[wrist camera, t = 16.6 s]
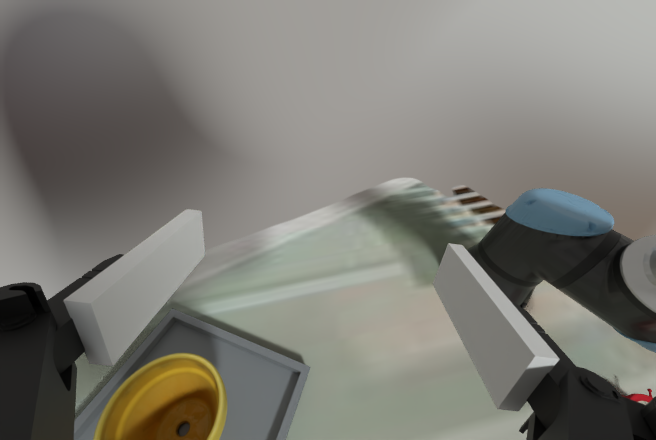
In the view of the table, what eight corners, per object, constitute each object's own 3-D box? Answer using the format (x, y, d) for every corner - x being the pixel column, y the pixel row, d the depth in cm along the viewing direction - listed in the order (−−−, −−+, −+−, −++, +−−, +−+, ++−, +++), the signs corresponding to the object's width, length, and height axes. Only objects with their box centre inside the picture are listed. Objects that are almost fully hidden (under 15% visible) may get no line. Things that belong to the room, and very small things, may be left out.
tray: (308, 372, 37) (310, 366, 35) (211, 654, 21) (206, 668, 19) (176, 316, 40) (172, 308, 38) (-2, 528, 23) (-22, 530, 22)
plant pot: (105, 477, 26) (52, 471, 20) (174, 369, 34) (152, 338, 27) (200, 512, 25) (179, 517, 19) (248, 394, 33) (244, 368, 27)
